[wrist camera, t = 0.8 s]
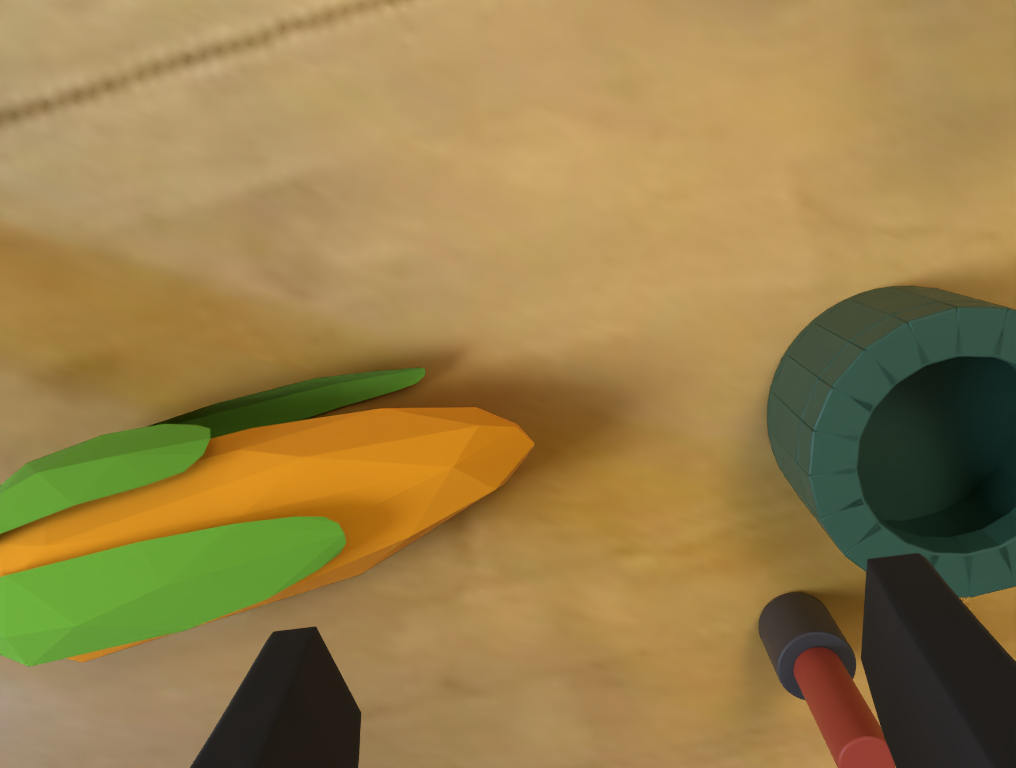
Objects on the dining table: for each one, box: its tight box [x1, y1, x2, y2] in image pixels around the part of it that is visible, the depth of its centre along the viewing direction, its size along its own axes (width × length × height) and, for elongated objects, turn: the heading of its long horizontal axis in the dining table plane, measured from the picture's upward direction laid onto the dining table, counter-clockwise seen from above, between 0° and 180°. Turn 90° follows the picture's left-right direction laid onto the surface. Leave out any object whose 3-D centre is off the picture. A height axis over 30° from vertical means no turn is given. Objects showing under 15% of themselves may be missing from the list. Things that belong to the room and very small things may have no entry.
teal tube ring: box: [767, 286, 1016, 598], centre depth 28 cm, size 9×9×6 cm
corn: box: [0, 367, 535, 667], centre depth 29 cm, size 7×8×20 cm
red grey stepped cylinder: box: [759, 593, 895, 768], centre depth 28 cm, size 3×3×8 cm
